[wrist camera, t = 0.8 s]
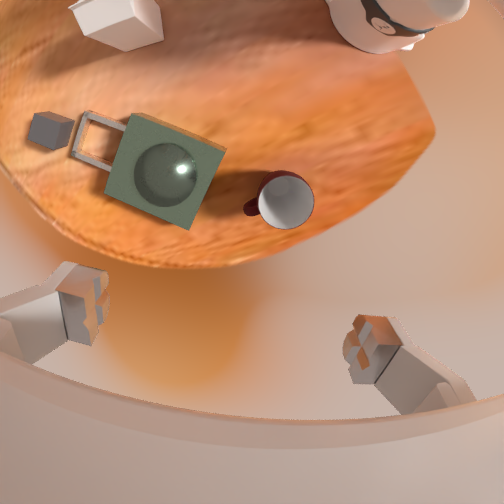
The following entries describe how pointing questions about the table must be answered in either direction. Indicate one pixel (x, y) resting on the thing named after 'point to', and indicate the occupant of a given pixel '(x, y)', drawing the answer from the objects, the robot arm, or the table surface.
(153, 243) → the table surface
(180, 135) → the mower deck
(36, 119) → the grey rectangular block
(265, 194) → the mug
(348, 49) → the table surface
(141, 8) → the milk carton
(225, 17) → the table surface
